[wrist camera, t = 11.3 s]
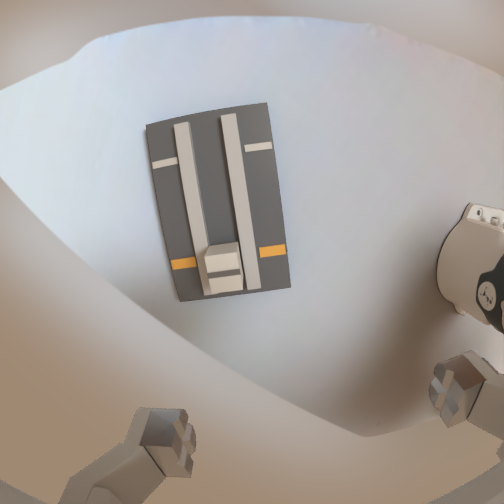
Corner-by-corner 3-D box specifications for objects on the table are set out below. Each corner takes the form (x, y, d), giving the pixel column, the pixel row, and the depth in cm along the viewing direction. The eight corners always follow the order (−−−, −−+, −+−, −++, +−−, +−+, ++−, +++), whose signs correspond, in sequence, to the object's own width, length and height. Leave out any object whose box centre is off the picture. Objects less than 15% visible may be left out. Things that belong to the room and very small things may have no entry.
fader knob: (238, 238, 34) (237, 252, 28) (243, 271, 35) (243, 290, 30) (210, 242, 34) (203, 257, 28) (216, 275, 35) (211, 294, 30)
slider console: (265, 106, 31) (267, 100, 28) (288, 281, 38) (292, 291, 35) (151, 127, 32) (142, 123, 29) (182, 295, 38) (177, 306, 35)
